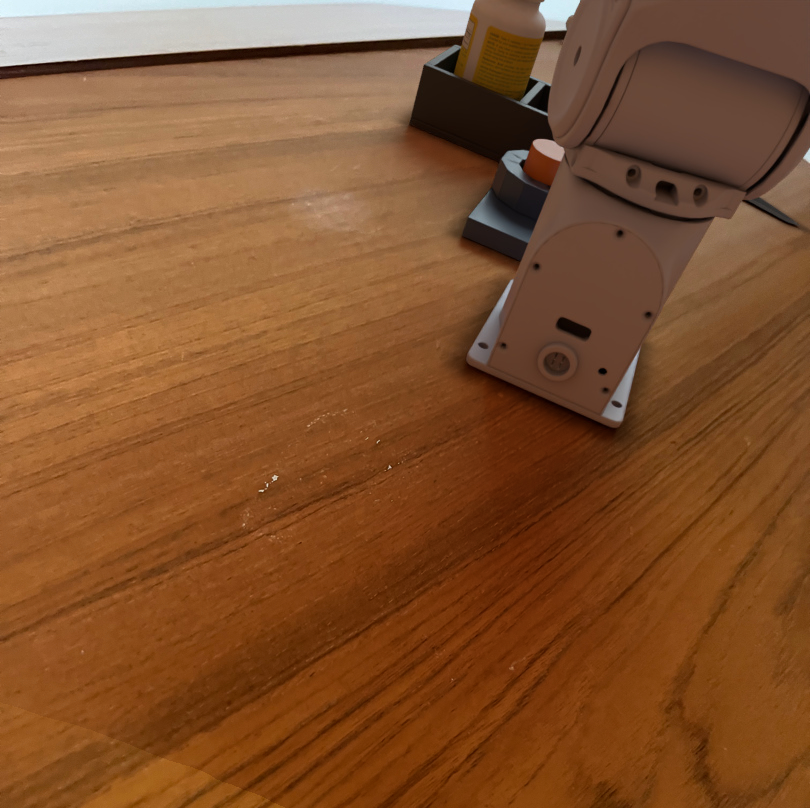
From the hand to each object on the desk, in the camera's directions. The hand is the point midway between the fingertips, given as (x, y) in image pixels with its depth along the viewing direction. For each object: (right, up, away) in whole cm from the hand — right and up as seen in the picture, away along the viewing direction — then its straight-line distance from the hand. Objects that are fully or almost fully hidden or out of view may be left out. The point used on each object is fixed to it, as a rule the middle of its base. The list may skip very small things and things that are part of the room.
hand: (584, 81), depth 43 cm
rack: (-2, +3, +14) cm, 14 cm away
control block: (-2, -7, +5) cm, 9 cm away
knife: (+16, +3, +20) cm, 25 cm away
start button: (-1, -4, +4) cm, 6 cm away
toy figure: (+23, +28, +40) cm, 54 cm away
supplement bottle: (-5, +5, +14) cm, 16 cm away
